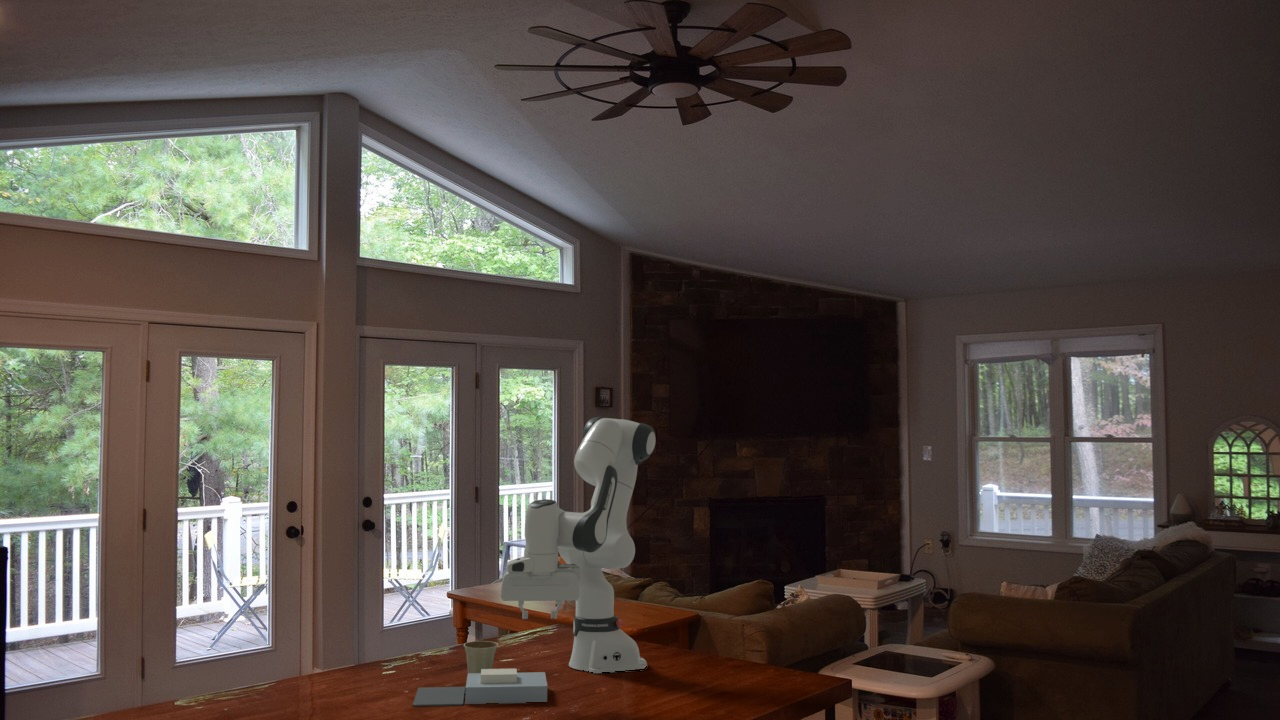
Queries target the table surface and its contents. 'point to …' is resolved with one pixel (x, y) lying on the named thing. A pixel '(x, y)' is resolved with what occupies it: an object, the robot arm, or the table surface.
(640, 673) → the table surface
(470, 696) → the plate
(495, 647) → the flower pot
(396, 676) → the table surface
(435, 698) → the mat
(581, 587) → the robot arm
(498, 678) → the cream flat block
